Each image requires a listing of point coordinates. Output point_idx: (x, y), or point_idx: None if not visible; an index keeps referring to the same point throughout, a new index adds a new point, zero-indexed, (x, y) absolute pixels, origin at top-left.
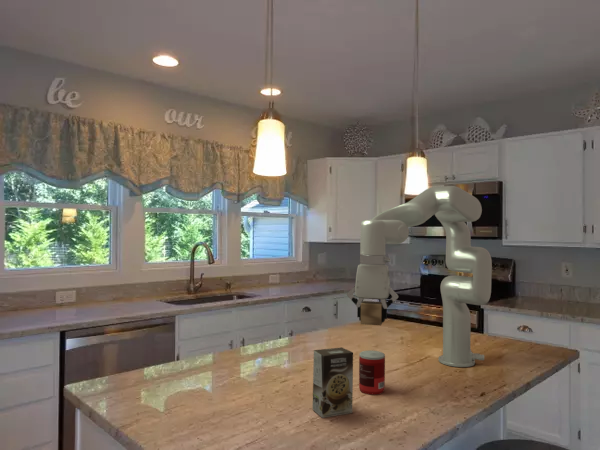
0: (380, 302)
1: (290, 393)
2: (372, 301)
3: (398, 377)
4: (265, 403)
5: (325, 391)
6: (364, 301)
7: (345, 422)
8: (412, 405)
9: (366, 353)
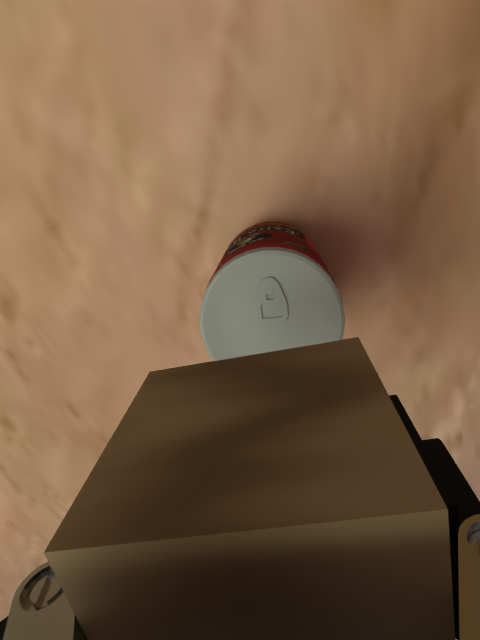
0: (400, 578)
1: (50, 421)
2: (216, 544)
3: (335, 30)
4: (44, 504)
5: None
6: (90, 599)
7: None
8: (442, 345)
9: (231, 304)
